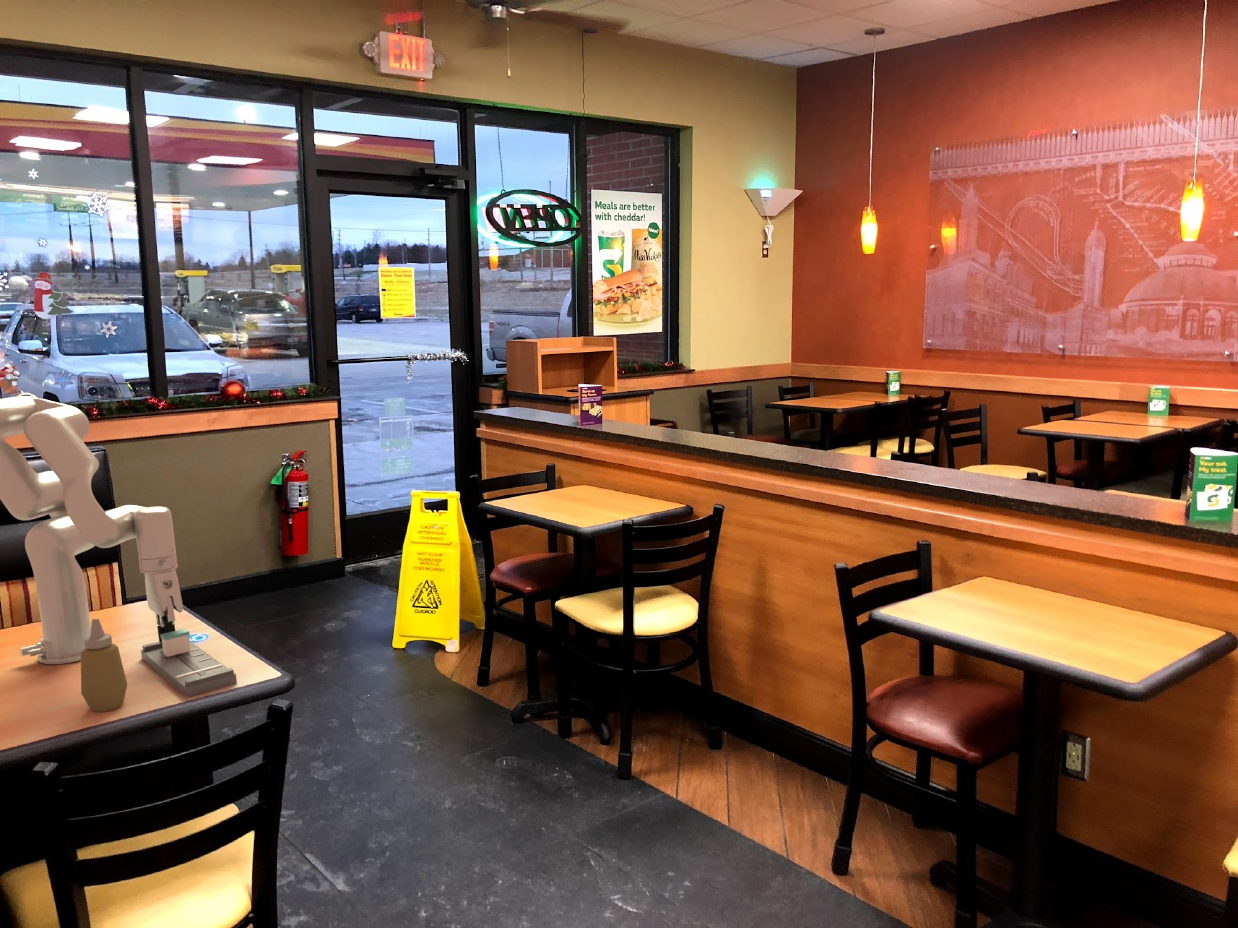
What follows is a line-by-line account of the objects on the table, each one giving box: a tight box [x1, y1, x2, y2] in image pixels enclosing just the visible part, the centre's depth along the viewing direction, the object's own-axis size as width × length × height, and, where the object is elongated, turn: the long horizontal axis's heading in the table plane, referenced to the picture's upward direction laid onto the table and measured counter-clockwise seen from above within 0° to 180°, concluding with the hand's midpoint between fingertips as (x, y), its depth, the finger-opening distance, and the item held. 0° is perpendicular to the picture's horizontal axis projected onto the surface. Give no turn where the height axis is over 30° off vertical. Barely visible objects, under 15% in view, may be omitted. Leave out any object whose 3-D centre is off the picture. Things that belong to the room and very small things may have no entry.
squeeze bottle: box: [80, 618, 128, 713], centre depth 191 cm, size 8×8×18 cm
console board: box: [140, 640, 238, 698], centre depth 210 cm, size 10×30×3 cm, turn 42°
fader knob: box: [160, 628, 191, 657], centre depth 214 cm, size 5×3×4 cm, turn 132°
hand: (167, 641), depth 219 cm, fingers closed
